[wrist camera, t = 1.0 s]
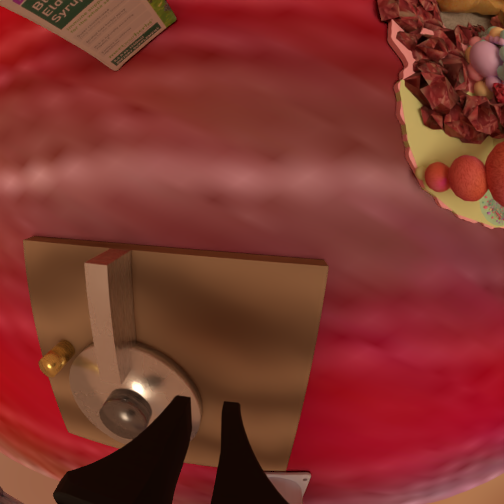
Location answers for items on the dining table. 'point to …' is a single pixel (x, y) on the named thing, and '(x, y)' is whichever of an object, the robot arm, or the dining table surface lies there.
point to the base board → (196, 332)
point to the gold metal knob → (56, 358)
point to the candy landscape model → (452, 100)
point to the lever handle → (123, 359)
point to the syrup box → (99, 24)
